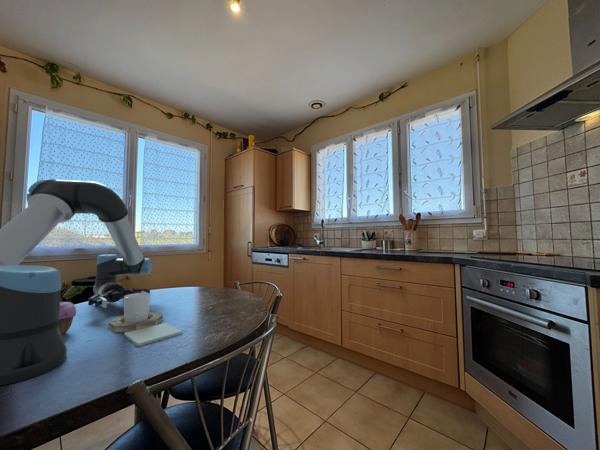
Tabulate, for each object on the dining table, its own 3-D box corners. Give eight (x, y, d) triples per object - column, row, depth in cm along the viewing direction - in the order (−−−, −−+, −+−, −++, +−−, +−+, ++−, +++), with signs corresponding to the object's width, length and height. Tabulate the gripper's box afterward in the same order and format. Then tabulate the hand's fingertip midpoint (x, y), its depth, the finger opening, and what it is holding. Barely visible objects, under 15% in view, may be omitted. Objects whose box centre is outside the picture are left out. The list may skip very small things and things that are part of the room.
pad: (181, 333, 78) (181, 331, 78) (137, 346, 68) (138, 343, 68) (165, 325, 85) (165, 322, 85) (124, 335, 76) (124, 333, 76)
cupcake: (28, 338, 74) (30, 304, 74) (62, 328, 82) (63, 297, 83) (50, 341, 72) (51, 306, 72) (82, 330, 80) (84, 299, 81)
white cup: (140, 328, 82) (141, 297, 83) (116, 328, 83) (117, 297, 83) (154, 320, 90) (155, 292, 91) (133, 320, 90) (134, 292, 91)
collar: (150, 330, 81) (150, 324, 81) (99, 333, 78) (100, 326, 78) (166, 316, 95) (166, 311, 95) (124, 318, 92) (124, 313, 92)
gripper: (144, 295, 116) (163, 303, 102) (72, 307, 97) (84, 318, 83) (144, 279, 116) (163, 285, 103) (73, 287, 97) (85, 296, 84)
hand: (128, 300), depth 93 cm, fingers open, 13 cm apart
